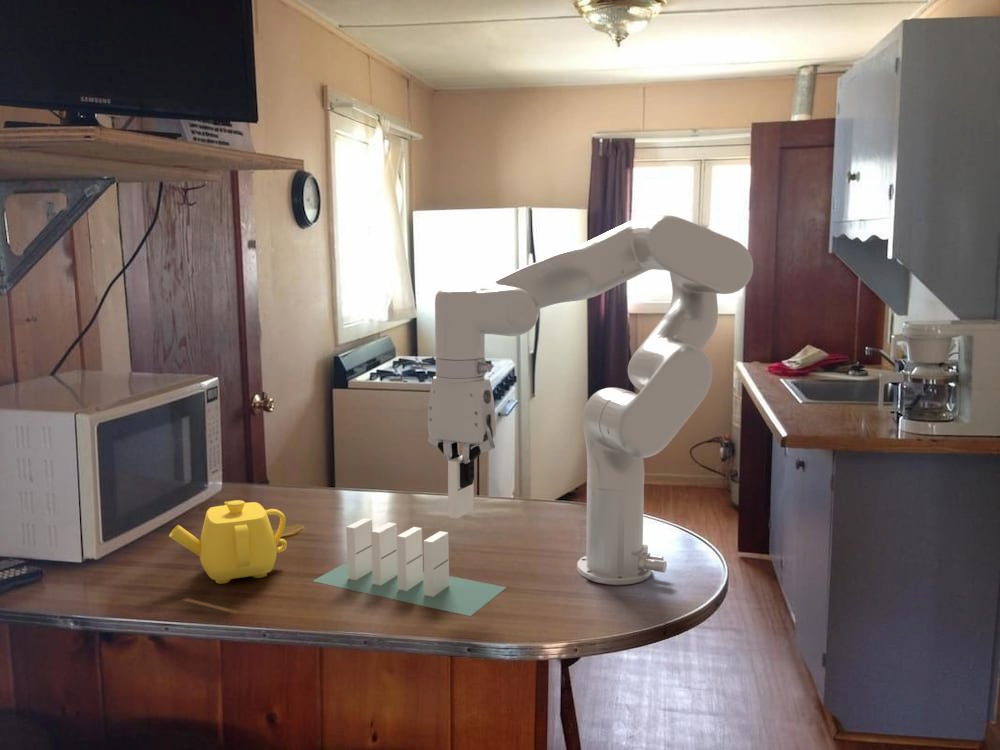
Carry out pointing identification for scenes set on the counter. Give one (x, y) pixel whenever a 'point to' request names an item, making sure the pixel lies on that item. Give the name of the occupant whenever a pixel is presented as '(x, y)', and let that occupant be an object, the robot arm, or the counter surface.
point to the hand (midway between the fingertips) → (461, 484)
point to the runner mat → (419, 591)
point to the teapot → (235, 541)
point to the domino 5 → (458, 491)
